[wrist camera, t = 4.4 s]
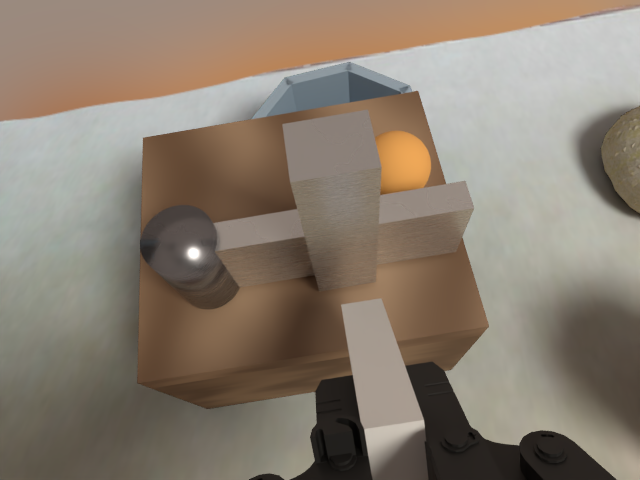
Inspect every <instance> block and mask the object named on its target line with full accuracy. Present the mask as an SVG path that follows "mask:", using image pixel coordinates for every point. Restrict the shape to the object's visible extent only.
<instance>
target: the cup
mask: <svg viewBox="0 0 640 480" xmlns="http://www.w3.org/2000/svg"><path fill="white" fill-rule="evenodd" d="M409 92H412V89H411V87H410V85H407V84H405V83H402V82H400V81H397V80H394V79H392V78H389V77H387V76H384V75H382V74H379V73H377V72H374V71H372V70H369V69H366V68H364V67H361V66H359V65H356V64H354V63H351V62H347V63H343V64H339V65H335V66H331V67H327V68H322V69H318V70H314V71H310V72H306V73H302V74H297V75H293V76H289V77H285V78H284V79H283V80H282V82H281V83H280V84H279V85H278V87H277V88H276V89H275V90H274V91H273V93H272V94H271V95H270V96H269V98H268V99H267V100H266V101H265V103H264V104H263V105H262V106H261V108H260V109H259V110H258V111H257V112H256V114H255V115H254V116H253V117H252V119H256V118H262V117H268V116H274V115H280V114H286V113H291V112H297V111H303V110H309V109H315V108H321V107H327V106H332V105H338V104H344V103H350V102H356V101H362V100H368V99H373V98H379V97H385V96H391V95H397V94H403V93H409Z"/></svg>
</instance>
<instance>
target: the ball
mask: <svg viewBox="0 0 640 480" xmlns="http://www.w3.org/2000/svg"><path fill="white" fill-rule="evenodd" d="M375 141H376V145H377V150H378V154H379V158H380V162H381V166H382V169H381V189H380V195H384V194H390V193H396V192H402V191H408V190H414V189H420V188H423V187H424V186H425V185H426V183H427V181H428V179H429V176H430V172H431V159H430V155H429V152H428V150H427V148H426V146H425V145H424V144H423V142H422V141H421V140H420V139H418V138H417V137H416V136H414V135H412V134H410V133H408V132H404V131H388V132H385V133H383V134H380V135H378V136H377V137H375Z"/></svg>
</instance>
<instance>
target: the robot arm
mask: <svg viewBox="0 0 640 480" xmlns="http://www.w3.org/2000/svg"><path fill="white" fill-rule="evenodd" d="M341 307H342V314H343V320H344V326H345V332H346V339H347V345H348V351H349V357H350V364H351V370H352V375H349V376H343V377H337V378H330V379H324V380H321V382H320V384H319V385H318V387H317V389H316V391H315V392H316V413H317V415H316V416H317V424H316V425H315V427H314V428H313V429H312V432H311V436H310V438H311V443H312V448H313V453H314V458H315V462H314V463H313V464H312V466H311V467H310V468H309V469H308V470H307V471H305V472H304V473H302V474H301V475H299V476H297V477H295V478H293V479H290V480H616V479H615V478H614V477H613V476H612V475H611V474H610V473H608V472H607V471H606V470H605V469H604V468H603V467H602V466H601V465H599V464H598V463H597V462H596V461H595V460H594V459H593V458H592V457H590V456H589V455H588V454H587V453H586V452H585V451H584V450H583V449H581V448H580V447H579V446H578V445H577V444H576V443H575V442H573V441H572V440H570V439H569V438H567V437H566V436H564V435H561V434H559V433H556V432H552V431H536V432H531V433H529V434H527V435H526V436H524V437H523V438H522V440H521V442H520V444H519V445H520V446H518V445H508V444H500V443H495V442H492V441H489V440H486V439H484V438H483V437H482V436H481V435H480V434H479V432H478V431H477V430H475V429H473V428H472V427H471V426H470V425H469V422H468V420H467V418H466V416H465V414H464V412H463V410H462V408H461V406H460V403H459V401H458V399H457V397H456V395H455V393H454V392H453V389H452V387H451V385H450V383H449V380H448V378H447V376H446V374H445V372H444V370H443V369H442V368H440V367H439V366H438V365H436V364H435V363H434V362H433V361H432V362H426V363H419V364H413V365H406V366H405V364H404V361H403V359H402V356H401V353H400V350H399V347H398V344H397V342H396V339H395V336H394V333H393V330H392V327H391V324H390V322H389V319H388V316H387V313H386V310H385V307H384V304H383V302H382V299H381V298H380V299H373V300H367V301H361V302H355V303H348V304H342V305H341ZM249 480H284V479H283V478H281V477H280V476H279V475H274V474H262V475H258V476H256V477H253V478H251V479H249Z"/></svg>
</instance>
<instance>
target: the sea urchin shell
mask: <svg viewBox="0 0 640 480" xmlns="http://www.w3.org/2000/svg"><path fill="white" fill-rule="evenodd" d="M601 155H602V160H603V163H604V168H605V169H604V171H605V172H606V173H607V174H608V176H609V178H610V179H611V181H612V184H613V186H614V189H615V192H617V193H618V194H619V195H620V196H621V197H622V198H623V200H624V201H625V202H626V203H627V204H628V205H629V207H630V208H632V209H634V210H635V211H637V212H638V213H640V106H639V107H637V108H635V109H632V110H631V111H629V112H626V114H625V115H623V116H621V117H620V119H619V120H617V122H616V123H615V124H614V125H613V126H612V127H611V128H610V130H609V131H608V132H607V133H606V136H605V138H604V141H603V144H602V147H601Z"/></svg>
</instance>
